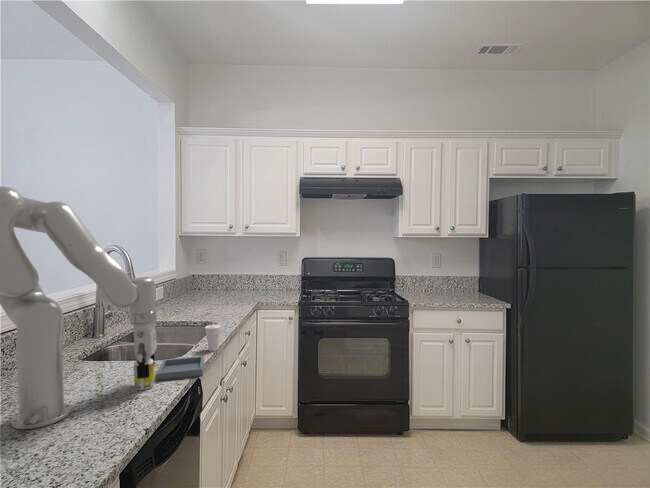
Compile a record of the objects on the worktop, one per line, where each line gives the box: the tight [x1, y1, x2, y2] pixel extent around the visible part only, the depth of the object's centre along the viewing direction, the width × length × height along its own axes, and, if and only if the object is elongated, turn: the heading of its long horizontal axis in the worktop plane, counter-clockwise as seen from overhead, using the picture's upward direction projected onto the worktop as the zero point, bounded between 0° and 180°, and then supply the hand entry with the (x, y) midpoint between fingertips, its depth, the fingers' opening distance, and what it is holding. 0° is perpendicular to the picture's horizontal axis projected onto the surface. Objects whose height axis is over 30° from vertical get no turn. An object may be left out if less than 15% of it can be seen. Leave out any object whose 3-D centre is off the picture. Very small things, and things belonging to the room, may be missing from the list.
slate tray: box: [156, 355, 205, 382], centre depth 133 cm, size 14×14×2 cm
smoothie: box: [204, 315, 222, 352], centre depth 156 cm, size 6×6×14 cm
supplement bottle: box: [133, 355, 155, 391], centre depth 119 cm, size 6×6×10 cm
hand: (146, 371), depth 120 cm, fingers open, 9 cm apart
